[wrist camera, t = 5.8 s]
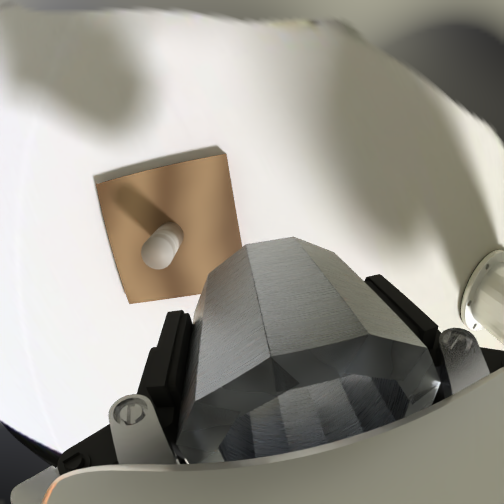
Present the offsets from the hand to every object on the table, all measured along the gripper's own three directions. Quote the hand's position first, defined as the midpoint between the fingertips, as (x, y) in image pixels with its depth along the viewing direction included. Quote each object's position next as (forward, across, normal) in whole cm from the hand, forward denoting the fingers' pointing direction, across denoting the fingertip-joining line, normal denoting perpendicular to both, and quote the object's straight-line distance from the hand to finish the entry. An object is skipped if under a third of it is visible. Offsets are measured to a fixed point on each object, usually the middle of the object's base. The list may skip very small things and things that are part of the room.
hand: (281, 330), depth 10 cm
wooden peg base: (+17, +7, 0) cm, 18 cm away
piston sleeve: (+1, 0, 0) cm, 1 cm away
